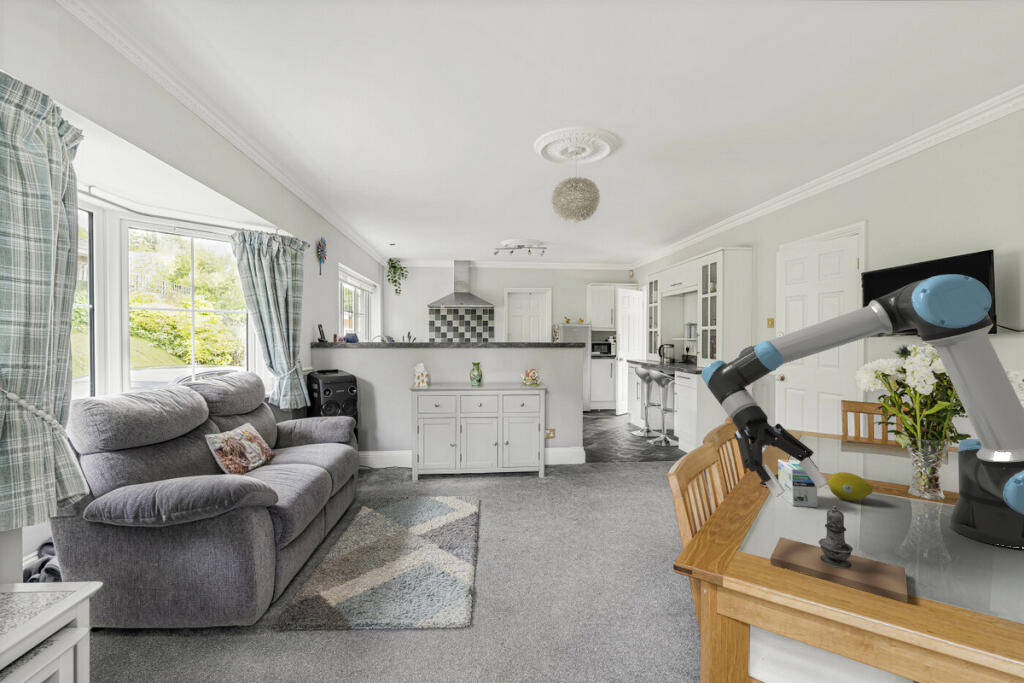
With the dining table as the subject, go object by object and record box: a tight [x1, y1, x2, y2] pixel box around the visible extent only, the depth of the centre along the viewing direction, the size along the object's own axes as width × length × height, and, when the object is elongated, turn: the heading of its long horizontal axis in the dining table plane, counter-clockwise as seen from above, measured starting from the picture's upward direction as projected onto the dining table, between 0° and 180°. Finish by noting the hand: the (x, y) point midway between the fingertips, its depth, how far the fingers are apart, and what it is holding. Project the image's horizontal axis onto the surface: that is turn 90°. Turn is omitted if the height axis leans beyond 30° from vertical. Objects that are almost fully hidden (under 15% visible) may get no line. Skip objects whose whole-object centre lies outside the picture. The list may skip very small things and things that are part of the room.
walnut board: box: [770, 536, 909, 604], centre depth 91 cm, size 22×12×2 cm, turn 49°
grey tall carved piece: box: [818, 505, 854, 569], centre depth 91 cm, size 6×6×12 cm
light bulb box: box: [777, 459, 819, 508], centre depth 129 cm, size 11×7×11 cm, turn 169°
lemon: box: [827, 471, 874, 502], centre depth 128 cm, size 11×8×8 cm
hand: (802, 489), depth 97 cm, fingers open, 13 cm apart
